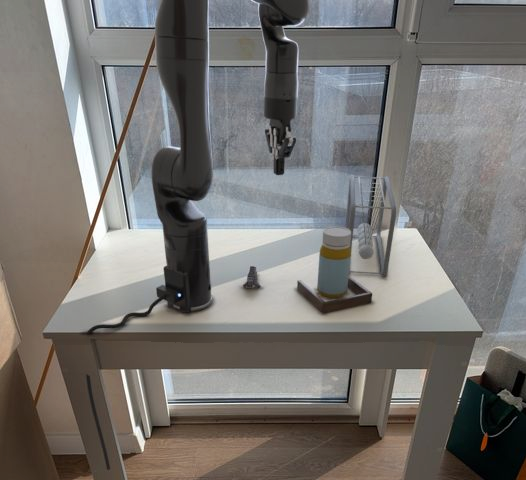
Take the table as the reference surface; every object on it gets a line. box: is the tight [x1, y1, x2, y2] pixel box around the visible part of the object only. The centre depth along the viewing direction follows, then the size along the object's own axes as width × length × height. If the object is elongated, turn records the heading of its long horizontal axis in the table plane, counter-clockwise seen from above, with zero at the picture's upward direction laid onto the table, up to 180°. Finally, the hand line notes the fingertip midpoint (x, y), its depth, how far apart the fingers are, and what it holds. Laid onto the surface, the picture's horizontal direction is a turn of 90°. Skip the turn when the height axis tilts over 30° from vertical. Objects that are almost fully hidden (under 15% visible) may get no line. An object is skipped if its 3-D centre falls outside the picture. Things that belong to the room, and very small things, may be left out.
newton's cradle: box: [344, 174, 397, 277], centre depth 133 cm, size 30×10×18 cm, turn 172°
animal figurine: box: [242, 265, 262, 289], centre depth 121 cm, size 12×4×5 cm, turn 174°
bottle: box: [316, 225, 352, 299], centre depth 116 cm, size 7×7×15 cm
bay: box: [296, 275, 373, 314], centre depth 117 cm, size 13×13×2 cm
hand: (278, 174), depth 123 cm, fingers closed
